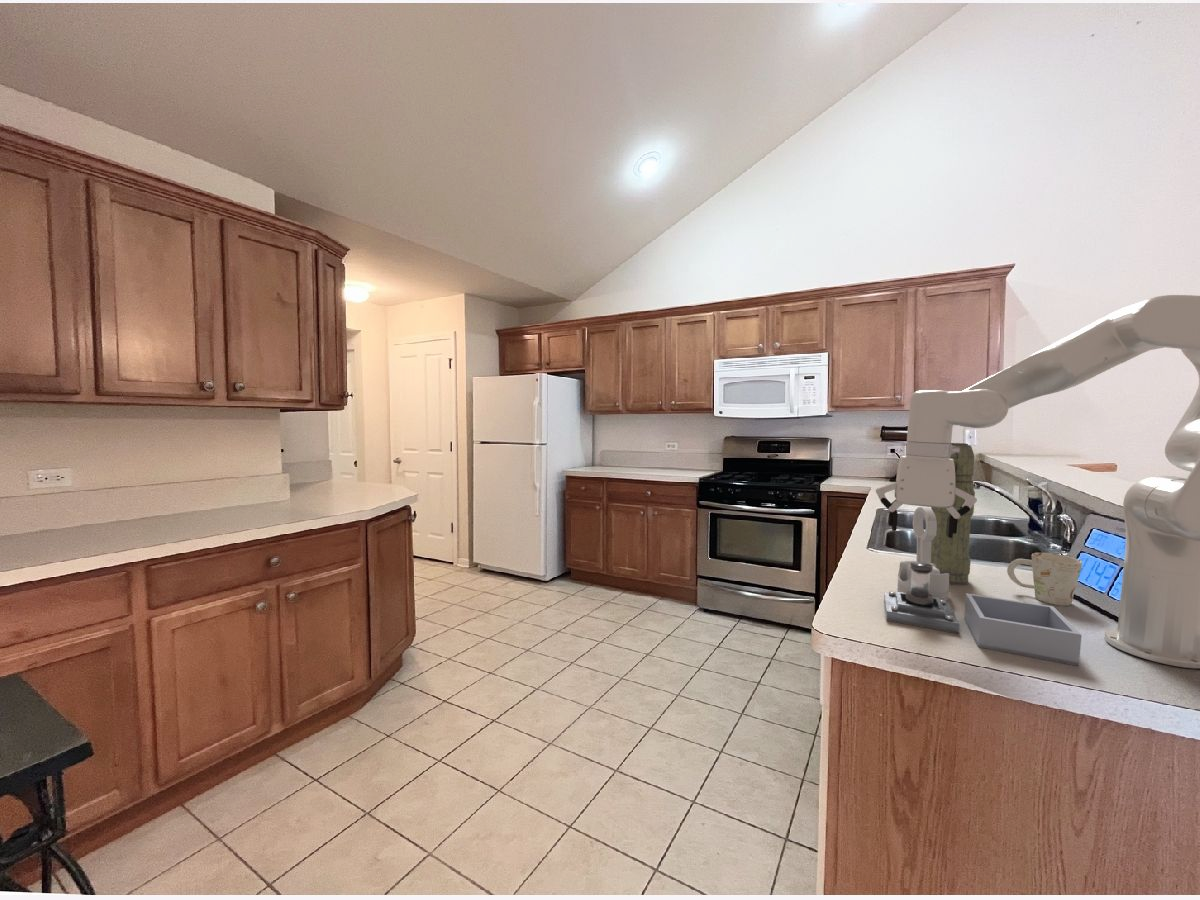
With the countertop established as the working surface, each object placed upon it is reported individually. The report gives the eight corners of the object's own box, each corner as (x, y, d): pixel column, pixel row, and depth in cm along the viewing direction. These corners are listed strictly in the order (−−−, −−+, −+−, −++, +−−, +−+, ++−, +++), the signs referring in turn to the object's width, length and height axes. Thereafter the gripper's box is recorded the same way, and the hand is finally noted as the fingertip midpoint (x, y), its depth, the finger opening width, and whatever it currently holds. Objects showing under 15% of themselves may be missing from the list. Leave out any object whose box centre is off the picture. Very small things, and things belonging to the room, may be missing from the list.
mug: (1076, 611, 104) (1080, 566, 103) (1001, 594, 114) (1005, 553, 113) (1080, 601, 110) (1083, 558, 109) (1008, 586, 119) (1011, 546, 118)
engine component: (907, 599, 110) (957, 603, 108) (913, 511, 108) (963, 513, 106) (889, 583, 120) (933, 586, 118) (893, 502, 119) (939, 504, 117)
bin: (1050, 633, 93) (1053, 606, 93) (1078, 666, 81) (1081, 634, 81) (964, 619, 100) (965, 593, 99) (978, 646, 88) (980, 617, 87)
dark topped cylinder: (931, 604, 102) (933, 563, 101) (934, 613, 98) (936, 569, 97) (904, 600, 104) (906, 559, 103) (906, 608, 100) (908, 566, 99)
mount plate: (948, 611, 103) (949, 596, 103) (958, 633, 93) (959, 617, 93) (884, 600, 109) (884, 586, 109) (886, 620, 99) (887, 605, 98)
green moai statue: (924, 581, 122) (932, 443, 119) (929, 569, 131) (937, 441, 129) (968, 589, 117) (978, 445, 114) (969, 576, 126) (979, 443, 123)
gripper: (976, 452, 98) (969, 535, 99) (878, 447, 106) (872, 523, 107) (985, 455, 91) (976, 543, 92) (879, 449, 99) (873, 531, 101)
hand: (920, 533), depth 100 cm, fingers open, 9 cm apart
